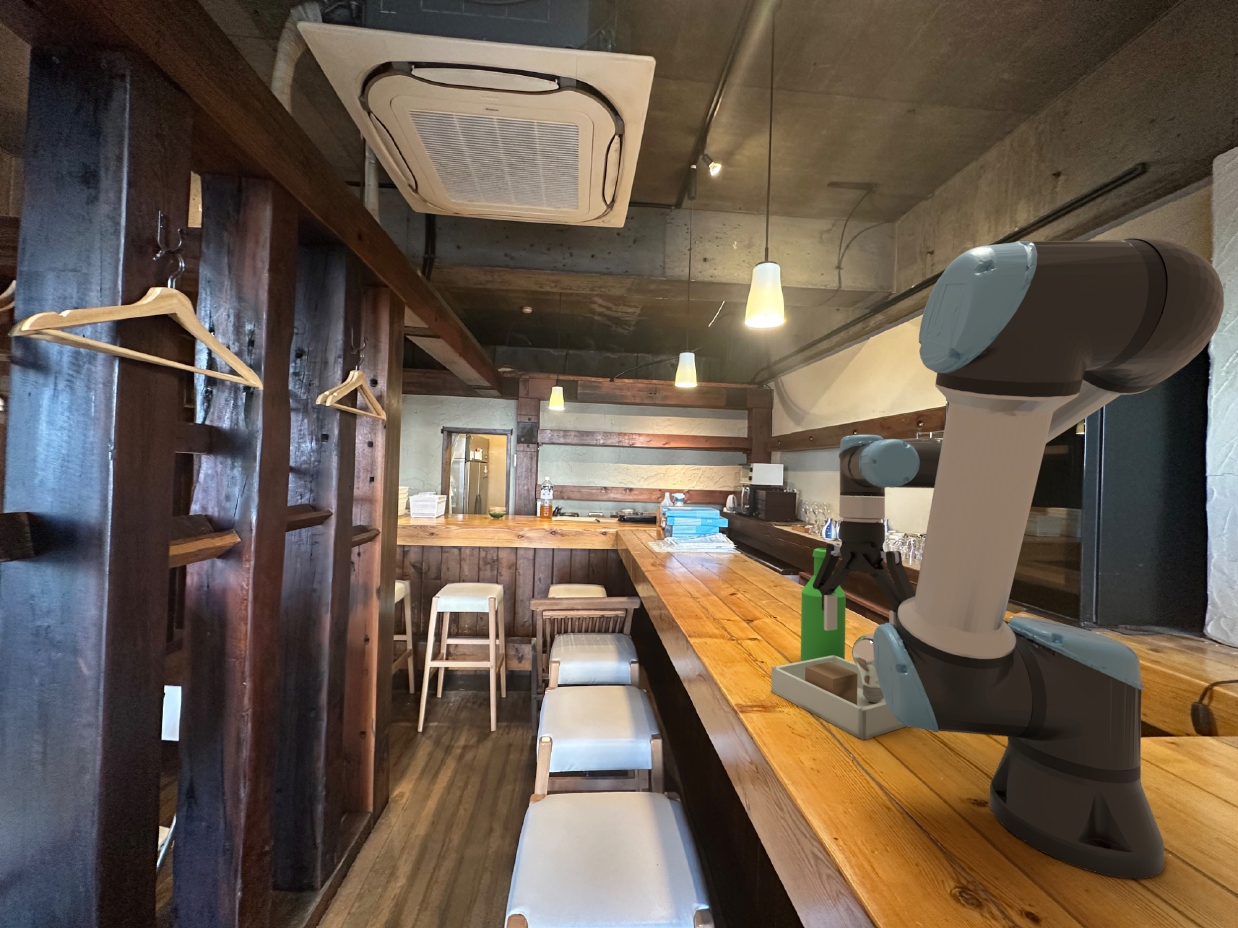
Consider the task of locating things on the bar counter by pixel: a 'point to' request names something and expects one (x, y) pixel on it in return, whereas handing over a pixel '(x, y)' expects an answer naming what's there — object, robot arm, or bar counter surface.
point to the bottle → (820, 620)
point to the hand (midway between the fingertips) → (861, 639)
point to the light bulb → (867, 668)
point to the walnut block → (833, 680)
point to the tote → (833, 700)
